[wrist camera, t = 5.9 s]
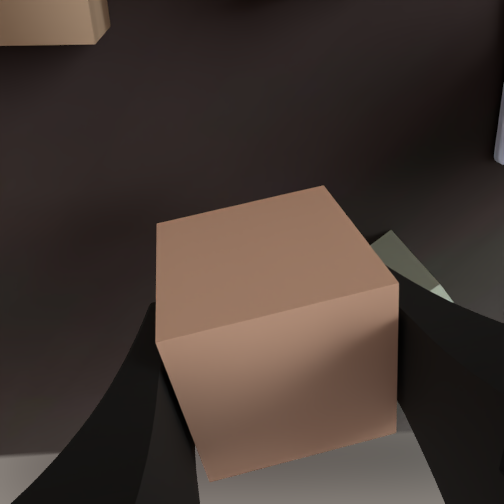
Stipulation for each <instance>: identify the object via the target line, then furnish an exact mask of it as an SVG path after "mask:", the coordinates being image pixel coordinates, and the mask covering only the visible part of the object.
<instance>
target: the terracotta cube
mask: <svg viewBox="0 0 504 504" xmlns="http://www.w3.org/2000/svg"><path fill="white" fill-rule="evenodd" d="M398 311H399V282H398V281H397V280H396V278H395V277H394V276H393V275H392V273H391V272H390V271H389V269H388V268H387V267H386V266H385V264H384V263H383V262H382V260H381V259H380V258H379V256H378V255H377V254H376V253H375V251H374V250H373V249H372V247H371V246H370V245H369V243H368V242H367V241H366V240H365V238H364V237H363V236H362V234H361V233H360V232H359V231H358V229H357V228H356V227H355V225H354V224H353V223H352V221H351V220H350V219H349V218H348V216H347V215H346V214H345V212H344V211H343V210H342V208H341V207H340V206H339V205H338V203H337V202H336V201H335V199H334V198H333V197H332V196H331V194H330V193H329V192H328V190H327V189H326V188H325V186H324V185H323V186H318V187H314V188H310V189H305V190H301V191H297V192H292V193H288V194H284V195H279V196H275V197H270V198H266V199H262V200H257V201H253V202H249V203H244V204H240V205H236V206H231V207H227V208H222V209H218V210H214V211H209V212H205V213H201V214H196V215H192V216H188V217H183V218H179V219H175V220H170V221H166V222H161V223H157V244H156V336H155V343H156V345H157V348H158V351H159V353H160V356H161V358H162V361H163V363H164V366H165V368H166V371H167V374H168V376H169V379H170V381H171V384H172V386H173V389H174V392H175V394H176V397H177V399H178V402H179V404H180V407H181V410H182V412H183V415H184V417H185V420H186V422H187V425H188V427H189V430H190V433H191V435H192V438H193V440H194V443H195V445H196V448H197V451H198V453H199V456H200V458H201V461H202V463H203V466H204V469H205V471H206V474H207V476H208V479H209V481H210V482H213V481H217V480H221V479H224V478H228V477H232V476H236V475H240V474H243V473H247V472H251V471H255V470H258V469H262V468H266V467H270V466H273V465H277V464H281V463H284V462H288V461H292V460H296V459H300V458H304V457H308V456H311V455H315V454H319V453H323V452H326V451H330V450H334V449H338V448H341V447H345V446H349V445H353V444H357V443H360V442H364V441H368V440H372V439H376V438H379V437H383V436H387V435H391V434H395V433H396V419H397V365H398Z"/></svg>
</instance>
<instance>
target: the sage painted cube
mask: <svg viewBox="0 0 504 504" xmlns="http://www.w3.org/2000/svg"><path fill="white" fill-rule="evenodd" d="M370 246H371V247H372V249H373V250H374V251H375V253H376V254H377V255H378V256H379V258H380V259H381V260H382V262H383V263H384V264H385V265H386V266H388V267H390V268H391V269H393V270H394V271H396V272H398V273H399V274H401V275H403V276H404V277H406V278H408V279H409V280H411V281H413V282H414V283H416V284H418V285H420V286H422V287H423V288H425V289H427V290H429V291H431V292H433V293H435V294H437V295H439V296H440V297H442V298H444V299H446V300H448V301H450V302H452V303H454V302H453V301H452V300H451V298H450V297H449V296H448V294H447V293H446V292H445V290H444V289H443V288H442V286H441V285H440V284H439V282H438V281H437V280H436V279H435V278H434V277H433V276H432V275H431V274H430V272H429V271H428V270H427V269H426V268H425V267H424V266H423V265H422V264H421V262H420V261H419V260H418V259H417V258H416V257H415V256H414V255H413V254H412V252H411V251H410V250H409V249H408V248H407V247H406V246H405V245H404V244H403V242H402V241H401V240H400V239H399V238H398V237H397V236H396V235H395V234H394V232H393V231H392V230H390V231H389V232H387V233H386V234H385V235H383V236H382V237H381V238H379V239H378V240H377V241H375V242H374V243H373V244H371V245H370Z"/></svg>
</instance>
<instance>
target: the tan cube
mask: <svg viewBox="0 0 504 504" xmlns="http://www.w3.org/2000/svg"><path fill="white" fill-rule="evenodd" d="M110 26H111V25H110V18H109V11H108V4H107V0H0V46H27V45H86V44H96V43H97V42H98V40H99V39H100V38H101V37H102V36H103V35H104V33H105V32H106V31H107V30H108V29H109V28H110Z"/></svg>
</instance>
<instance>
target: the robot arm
mask: <svg viewBox="0 0 504 504" xmlns="http://www.w3.org/2000/svg"><path fill="white" fill-rule="evenodd" d="M494 159H495V161H496V162H498V163H500V164H502V165H504V84H503V92H502V99H501V106H500V114H499V121H498V128H497V136H496V143H495V150H494ZM385 266H386V265H385ZM386 267H387V268H388V269H389V271H390V272H391V273H392V275H393V276H394V277H395V278H396V280H397V281H398V282H399V311H398V365H397V401H398V402H399V404H400V406H401V408H402V410H403V412H404V413H405V415H406V418H407V420H408V422H409V424H410V426H411V428H412V430H413V432H414V434H415V437H416V439H417V441H418V443H419V445H420V447H421V449H422V452H423V454H424V456H425V458H426V460H427V463H428V465H429V467H430V469H431V472H432V474H433V476H434V478H435V481H436V483H437V485H438V488H439V490H440V492H441V495H442V497H443V499H444V502H445V504H504V323H501V322H498V321H496V320H493V319H490V318H488V317H485V316H483V315H480V314H478V313H475V312H473V311H471V310H468V309H466V308H463V307H461V306H459V305H457V304H455V303H452V302H450V301H448V300H446V299H444V298H442V297H440V296H439V295H437V294H435V293H433V292H431V291H429V290H427V289H425V288H423V287H422V286H420V285H418V284H416V283H414V282H413V281H411V280H409V279H408V278H406V277H404V276H403V275H401V274H399V273H398V272H396V271H394V270H393V269H391V268H390V267H388V266H386ZM155 336H156V302H153V303H151V304H150V306H149V307H148V310H147V313H146V315H145V318H144V320H143V322H142V325H141V327H140V329H139V332H138V334H137V336H136V338H135V340H134V342H133V344H132V346H131V348H130V351H129V353H128V355H127V357H126V359H125V361H124V362H123V364H122V366H121V368H120V370H119V371H118V373H117V375H116V377H115V378H114V380H113V382H112V384H111V385H110V387H109V389H108V390H107V392H106V393H105V395H104V396H103V398H102V400H101V401H100V403H99V404H98V405H97V407H96V408H95V410H94V411H93V413H92V414H91V415H90V417H89V418H88V419H87V421H86V422H85V423H84V425H83V426H82V427H81V429H80V430H79V431H78V432H77V434H76V435H75V436H74V437H73V439H72V440H71V441H70V442H69V444H68V445H67V446H66V447H65V448H64V450H63V451H62V452H61V453H60V454H59V455H58V457H56V459H55V460H54V461H53V462H52V463H51V464H50V465H49V466H48V467H47V468H46V470H44V472H43V473H42V474H41V475H40V476H39V477H38V478H37V479H36V480H35V481H34V482H33V483H32V484H31V485H30V486H29V487H28V488H27V489H26V490H25V491H24V492H23V493H21V495H19V496H18V497H17V498H16V499H15V500H14V501H13V502H12V503H11V504H200V500H199V491H198V483H197V474H196V461H195V443H194V440H193V438H192V435H191V433H190V430H189V427H188V425H187V422H186V420H185V417H184V415H183V412H182V410H181V407H180V404H179V402H178V399H177V397H176V394H175V392H174V389H173V386H172V384H171V381H170V379H169V376H168V374H167V371H166V368H165V366H164V363H163V361H162V358H161V356H160V353H159V351H158V348H157V345H156V343H155Z"/></svg>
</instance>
